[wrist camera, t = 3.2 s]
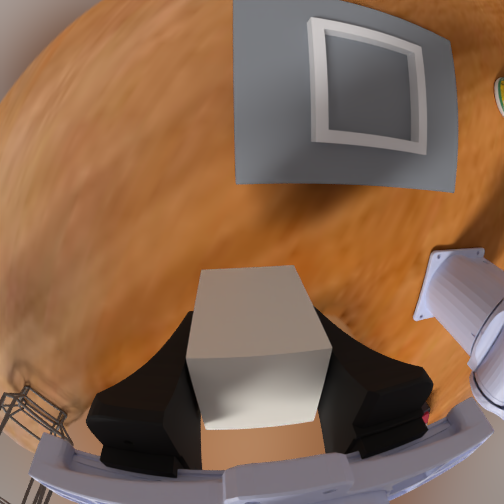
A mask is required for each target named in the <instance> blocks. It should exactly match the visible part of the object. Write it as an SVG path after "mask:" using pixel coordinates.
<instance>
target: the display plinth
mask: <svg viewBox="0 0 504 504" xmlns="http://www.w3.org/2000/svg"><path fill="white" fill-rule="evenodd" d="M233 84H234V138H235V177H236V184H270V183H315V184H350V185H371V186H387V187H401V188H412V189H423V190H433V191H442V192H450V193H454V190H455V181H456V169H457V153H458V105H457V90H456V79H455V70H454V63H453V56H452V50H451V44H450V41H449V40H447V39H445V38H443V37H441V36H439V35H437V34H435V33H433V32H431V31H429V30H426V29H424V28H422V27H420V26H417V25H415V24H413V23H410V22H408V21H405V20H403V19H400V18H397V17H395V16H392V15H389V14H386V13H383V12H380V11H377V10H374V9H371V8H367V7H364V6H360V5H356V4H353V3H349V2H344V1H340V0H233Z"/></svg>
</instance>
